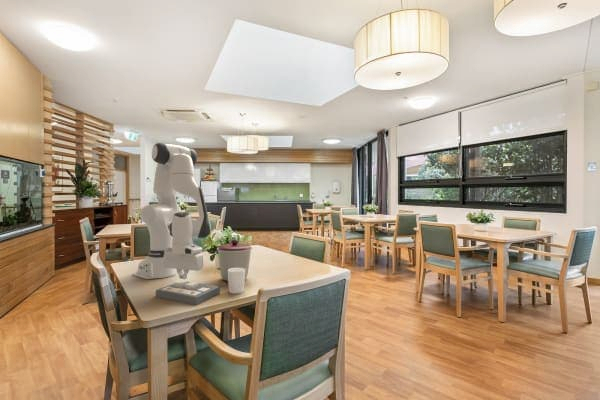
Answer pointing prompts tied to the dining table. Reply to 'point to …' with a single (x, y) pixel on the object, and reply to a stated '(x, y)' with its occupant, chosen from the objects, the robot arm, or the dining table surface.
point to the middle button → (191, 285)
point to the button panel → (188, 293)
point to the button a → (180, 283)
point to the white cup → (236, 280)
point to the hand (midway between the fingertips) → (183, 278)
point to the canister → (233, 257)
